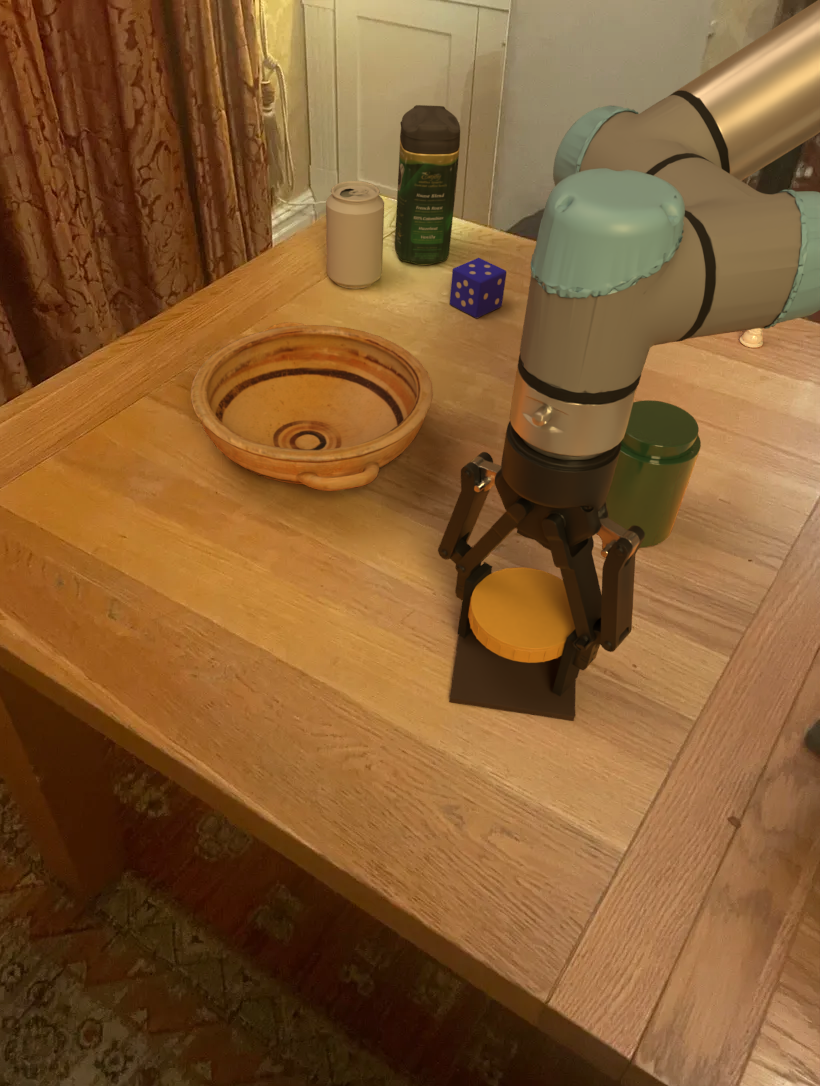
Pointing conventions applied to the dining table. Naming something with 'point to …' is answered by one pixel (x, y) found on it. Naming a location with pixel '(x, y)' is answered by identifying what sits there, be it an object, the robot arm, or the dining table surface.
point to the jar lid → (521, 614)
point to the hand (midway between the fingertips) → (516, 655)
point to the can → (354, 234)
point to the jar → (653, 469)
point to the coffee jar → (426, 184)
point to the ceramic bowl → (312, 403)
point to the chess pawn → (752, 338)
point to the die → (477, 287)
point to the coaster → (508, 683)
